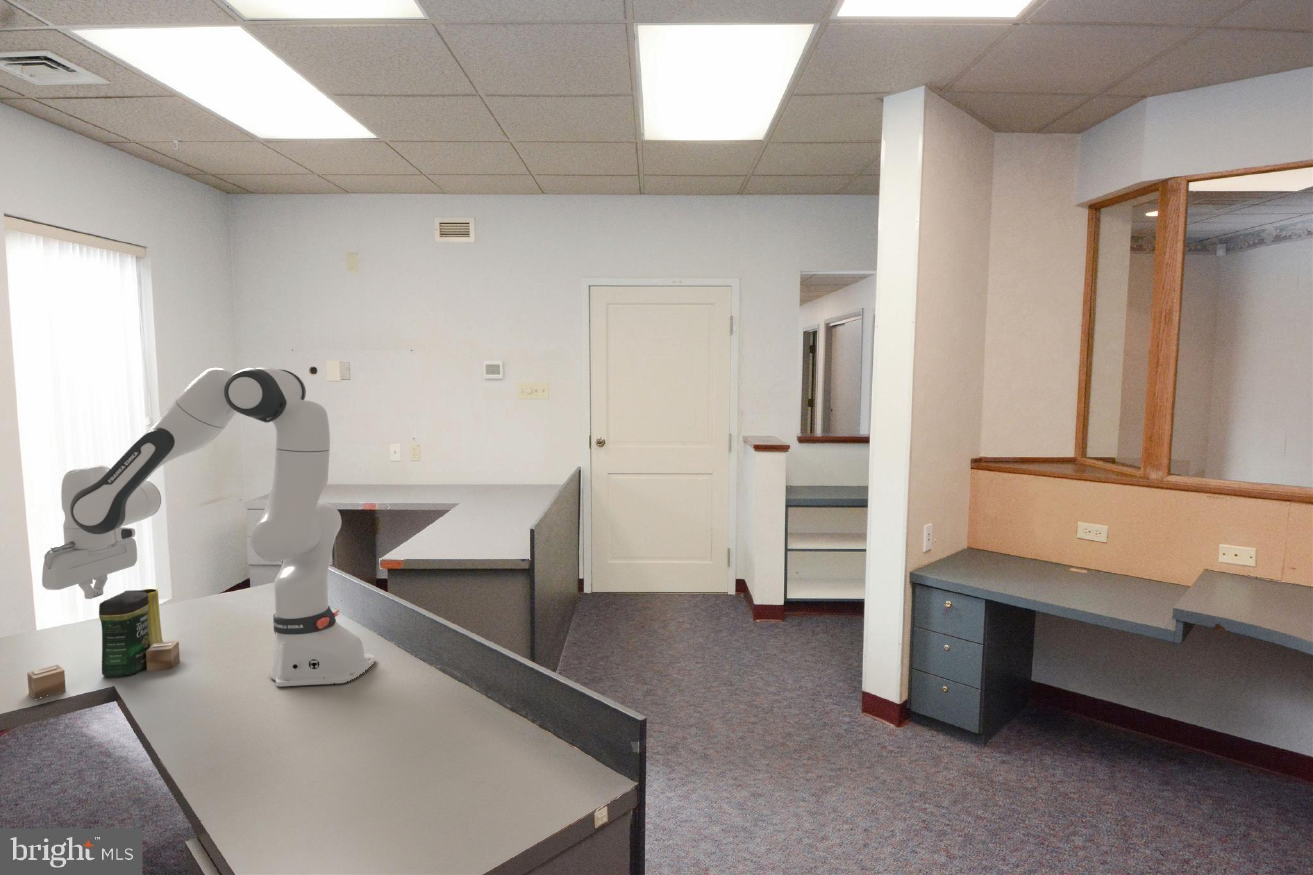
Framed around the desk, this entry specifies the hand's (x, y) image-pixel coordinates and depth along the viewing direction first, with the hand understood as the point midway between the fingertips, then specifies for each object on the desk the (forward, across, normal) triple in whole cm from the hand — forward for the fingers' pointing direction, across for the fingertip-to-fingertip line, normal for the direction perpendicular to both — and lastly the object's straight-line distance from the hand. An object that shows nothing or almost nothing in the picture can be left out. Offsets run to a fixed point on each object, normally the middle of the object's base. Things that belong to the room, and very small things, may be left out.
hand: (94, 596), depth 149 cm
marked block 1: (+19, -7, +5) cm, 21 cm away
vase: (+20, +19, +5) cm, 28 cm away
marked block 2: (+19, +8, -9) cm, 23 cm away
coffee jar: (+19, +5, -3) cm, 20 cm away
